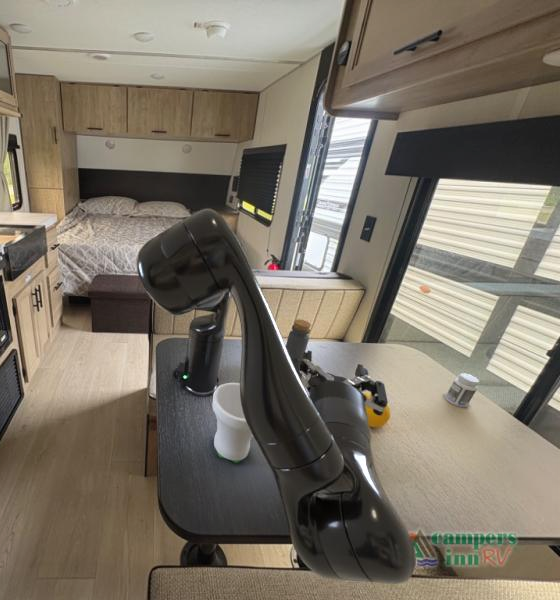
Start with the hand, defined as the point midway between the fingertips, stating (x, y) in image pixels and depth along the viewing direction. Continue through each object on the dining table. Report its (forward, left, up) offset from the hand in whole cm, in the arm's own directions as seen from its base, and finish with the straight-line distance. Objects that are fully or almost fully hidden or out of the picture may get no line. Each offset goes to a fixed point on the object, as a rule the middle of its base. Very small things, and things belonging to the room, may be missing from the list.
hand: (332, 361), depth 57 cm
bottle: (+2, +36, -25) cm, 44 cm away
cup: (-15, -4, -25) cm, 30 cm away
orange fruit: (+18, +16, -25) cm, 35 cm away
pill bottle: (+46, +33, -25) cm, 62 cm away
